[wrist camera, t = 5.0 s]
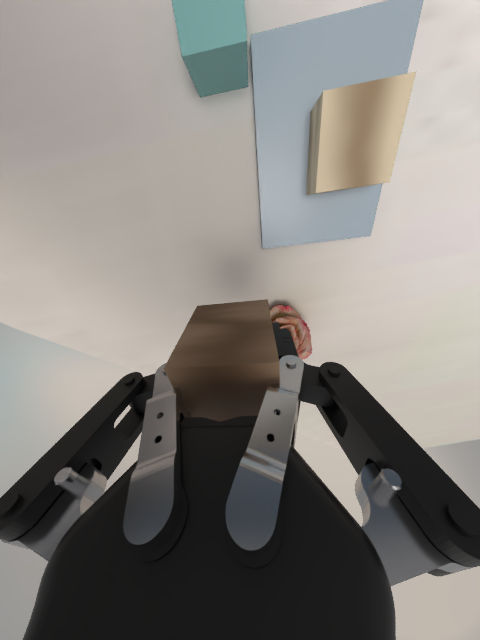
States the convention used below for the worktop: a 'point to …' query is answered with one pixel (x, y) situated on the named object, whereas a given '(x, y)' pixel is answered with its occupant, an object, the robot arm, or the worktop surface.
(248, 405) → the block walnut
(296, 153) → the board
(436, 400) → the worktop surface
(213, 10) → the block teal
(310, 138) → the base block
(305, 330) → the flower
